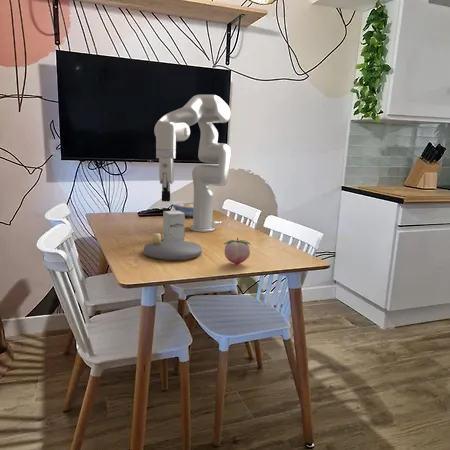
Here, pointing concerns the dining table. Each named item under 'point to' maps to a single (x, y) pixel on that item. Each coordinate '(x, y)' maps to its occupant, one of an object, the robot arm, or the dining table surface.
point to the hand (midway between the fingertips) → (166, 201)
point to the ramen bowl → (184, 207)
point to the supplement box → (173, 225)
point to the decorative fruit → (237, 251)
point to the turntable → (171, 249)
